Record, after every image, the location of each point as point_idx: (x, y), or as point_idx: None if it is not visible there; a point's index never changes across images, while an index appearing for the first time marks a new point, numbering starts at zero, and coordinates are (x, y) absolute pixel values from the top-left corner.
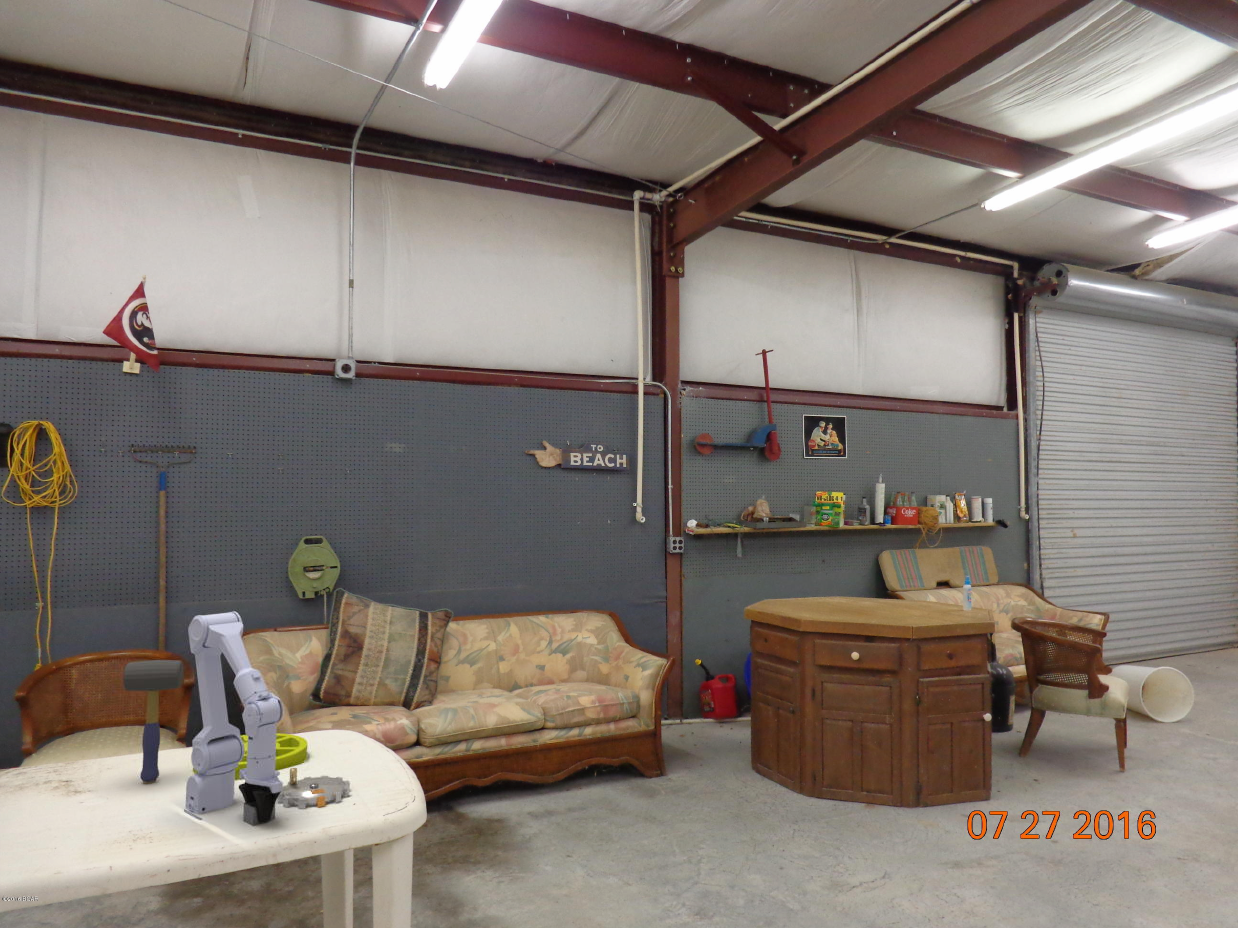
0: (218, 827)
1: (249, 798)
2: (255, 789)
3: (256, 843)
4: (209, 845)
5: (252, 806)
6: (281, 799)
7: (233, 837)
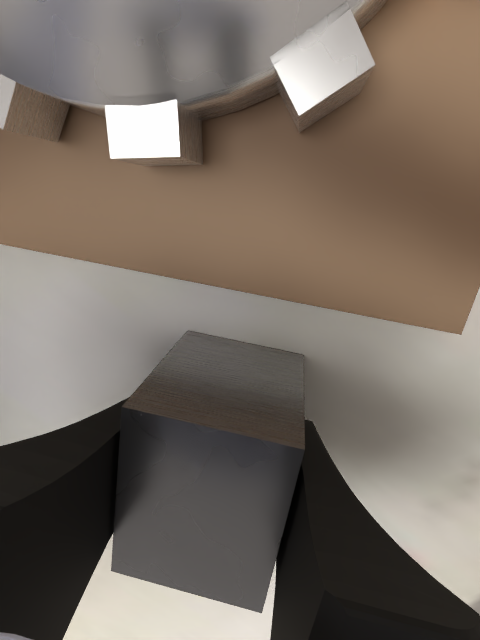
0: None
1: (96, 550)
2: (53, 574)
3: (428, 567)
4: (240, 633)
5: (234, 596)
6: (50, 109)
7: None
